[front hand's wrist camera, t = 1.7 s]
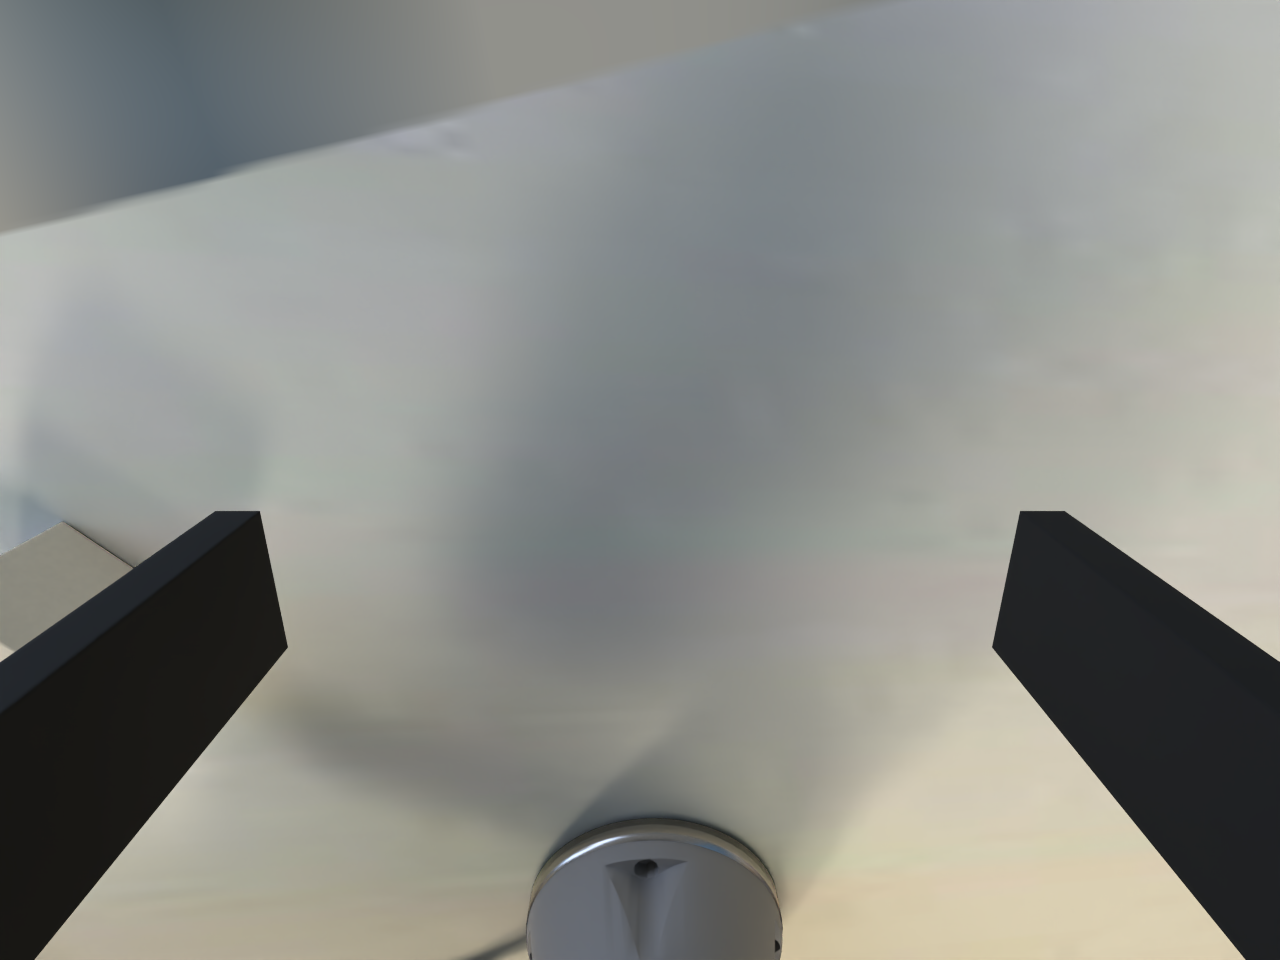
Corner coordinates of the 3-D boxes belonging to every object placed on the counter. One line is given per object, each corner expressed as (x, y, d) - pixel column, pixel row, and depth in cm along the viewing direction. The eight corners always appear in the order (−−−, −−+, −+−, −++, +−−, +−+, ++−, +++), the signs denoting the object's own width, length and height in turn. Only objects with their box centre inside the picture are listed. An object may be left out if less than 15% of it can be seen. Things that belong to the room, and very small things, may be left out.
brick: (225, 628, 37) (132, 723, 30) (175, 689, 38) (75, 792, 31) (62, 520, 34) (-77, 596, 28) (15, 588, 36) (-128, 676, 29)
